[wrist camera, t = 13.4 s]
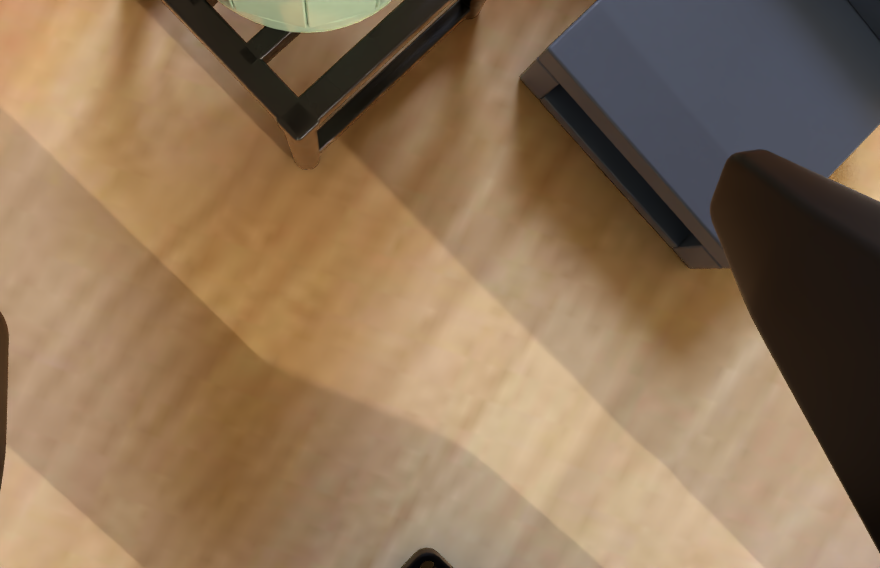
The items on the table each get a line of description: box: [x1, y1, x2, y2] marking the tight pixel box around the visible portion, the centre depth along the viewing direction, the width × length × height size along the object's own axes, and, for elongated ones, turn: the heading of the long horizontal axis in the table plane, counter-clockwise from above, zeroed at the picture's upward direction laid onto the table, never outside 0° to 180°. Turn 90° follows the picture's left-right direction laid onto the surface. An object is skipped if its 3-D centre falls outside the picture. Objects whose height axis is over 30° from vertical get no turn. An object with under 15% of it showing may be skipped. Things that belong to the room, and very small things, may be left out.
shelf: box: [520, 0, 880, 269], centre depth 21 cm, size 9×9×5 cm
